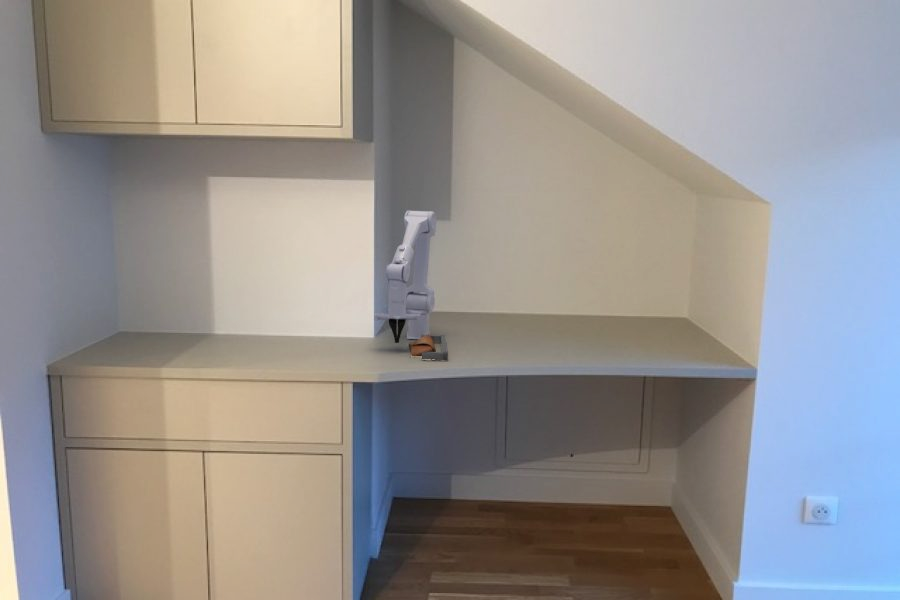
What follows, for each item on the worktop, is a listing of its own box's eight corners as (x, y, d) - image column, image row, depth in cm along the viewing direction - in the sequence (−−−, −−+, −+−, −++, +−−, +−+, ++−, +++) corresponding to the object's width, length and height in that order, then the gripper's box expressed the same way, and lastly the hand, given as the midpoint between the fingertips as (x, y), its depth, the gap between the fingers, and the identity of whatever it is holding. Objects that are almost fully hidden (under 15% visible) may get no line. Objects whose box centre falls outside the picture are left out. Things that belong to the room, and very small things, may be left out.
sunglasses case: (406, 343, 237) (417, 326, 237) (424, 353, 239) (434, 337, 238) (409, 357, 220) (421, 340, 219) (428, 369, 221) (440, 351, 220)
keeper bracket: (421, 342, 240) (421, 334, 240) (444, 342, 241) (444, 335, 240) (421, 360, 217) (421, 352, 216) (447, 361, 217) (447, 353, 217)
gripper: (373, 302, 221) (373, 344, 224) (420, 303, 222) (419, 345, 224) (375, 298, 228) (375, 339, 231) (420, 299, 229) (419, 340, 231)
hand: (397, 342), depth 228 cm, fingers closed
